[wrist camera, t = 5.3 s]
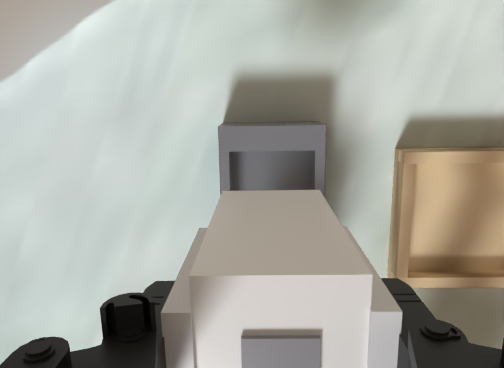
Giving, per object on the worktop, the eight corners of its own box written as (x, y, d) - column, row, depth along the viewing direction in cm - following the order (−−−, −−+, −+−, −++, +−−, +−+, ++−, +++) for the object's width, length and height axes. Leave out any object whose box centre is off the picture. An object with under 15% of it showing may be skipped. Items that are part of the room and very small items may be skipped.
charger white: (225, 280, 20) (196, 434, 11) (222, 191, 19) (187, 278, 10) (317, 279, 20) (366, 435, 11) (319, 189, 19) (374, 277, 10)
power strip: (314, 421, 34) (319, 458, 31) (232, 420, 35) (229, 457, 31) (319, 121, 29) (327, 125, 25) (222, 123, 29) (217, 127, 26)
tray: (387, 275, 31) (395, 287, 29) (395, 148, 29) (404, 152, 27) (518, 275, 31) (535, 287, 29) (536, 146, 29) (555, 150, 27)
